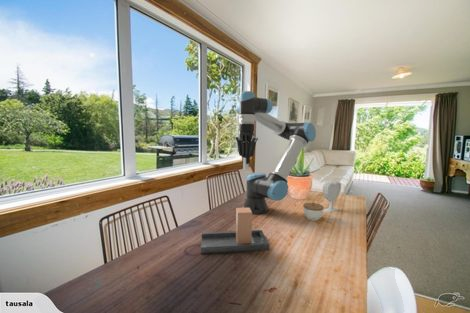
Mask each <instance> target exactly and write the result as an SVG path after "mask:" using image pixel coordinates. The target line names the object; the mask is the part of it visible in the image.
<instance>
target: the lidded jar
mask: <svg viewBox="0 0 470 313" xmlns="http://www.w3.org/2000/svg"><path fill="white" fill-rule="evenodd" d="M323 210H324V205H322V204H320V203H316V202H306V203H305V202H304V203H303V213H304V216H305V217H306V219H307V220H309V221H313V222H314V221H315V222H317V221H319V220H320V219H321V218H322V216H323V214H324V211H323Z"/></svg>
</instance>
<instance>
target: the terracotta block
mask: <svg viewBox="0 0 470 313" xmlns="http://www.w3.org/2000/svg"><path fill="white" fill-rule="evenodd" d="M252 226H253V214H252V211H251V209H250V208H244V207H236V208H235V231H236V241H237V244H239V243H251V237H252V229H253V228H252Z"/></svg>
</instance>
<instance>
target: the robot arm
mask: <svg viewBox="0 0 470 313" xmlns="http://www.w3.org/2000/svg"><path fill="white" fill-rule="evenodd" d="M273 106H274V105H273V102H272V100H271V99H269V98H266V97H265V98H262V97H256V94H255V92H254V91H250V90H249V91H248V90H245V91H241V92H240V93H239V101H238V102H237V103H236V105H235V111H236V113H237V114H238V116H239V117H238V118H239V119H238V120H239V125H238V131H239V136H237V137H235V141H236V143H237V150H238V156H239V157H240V156H241V157H242V159H241V161H242V170H243V171H249V168H250V163H251V162H250V161H251V160H250V159H251V158H252V157H254V154H255V149H256V146H257V142H258V140H259V138H258V137H256V136H255V134H254V132H255V124H254V123H255V122H257V123H258V124H260V125H263V127H266V128H267V129H269V130H271V131H273V132H274V133H273V134H275V135H277V136H278V137H281V138H282V139H285V140H287V141H289V142H288V144H287V146H286V148H285V150H284V152H283V153H282V155H281V157H280V159H279V161H278V162H277V164H276V167H275V168H274V170H273V171H271V172H269V174H268V175H267V174H266V173H261V172H260V173H259V172H258V173H250V174H248V175H247V177H246V198H245V201H244V204H243V208H250V209H251V211H252V215H253V214H254V215H260V214H265V213H267V212H268V208H269V207H268V204H267V201H266V198H267V199H268V200H271V201H276V202H277V201H279V202H280V201H281V200H283V199H284V198H286V196H287V194H288V193H289V185H288V176H289V175H290V173H291V170H292V169H293V167H294V165H295V163H296V161H297V160H298V158H299V156H300V154H301V152H302V150H303V148H305V147H307V146H308V144H309V142H310V143H311V142H314V140H315V139H316V136H317V135H316V132H317V130H316V127H315V125H314V124H313V123H312V122H307V121H306V122H285V121H284V120H280V119H278V118H276V117H274V116H272V115H271V114H270V113H271V111H272V110H273Z"/></svg>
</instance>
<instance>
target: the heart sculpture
mask: <svg viewBox="0 0 470 313" xmlns="http://www.w3.org/2000/svg"><path fill="white" fill-rule="evenodd" d="M341 192H342V183H341V182H339V181H334V180H331V181H327V182H325V183H324V184H323V186H322V195H323V197H324V198H325V199H326V200H327V201H328V208H327V207H326V208H323V213H324V212H325V213H329V214H331V213H332V212H336V211H338V210H340V208H338V207H336V206H334V203H335V202H336V200H337V199H338V198H339V195H340V193H341Z"/></svg>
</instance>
